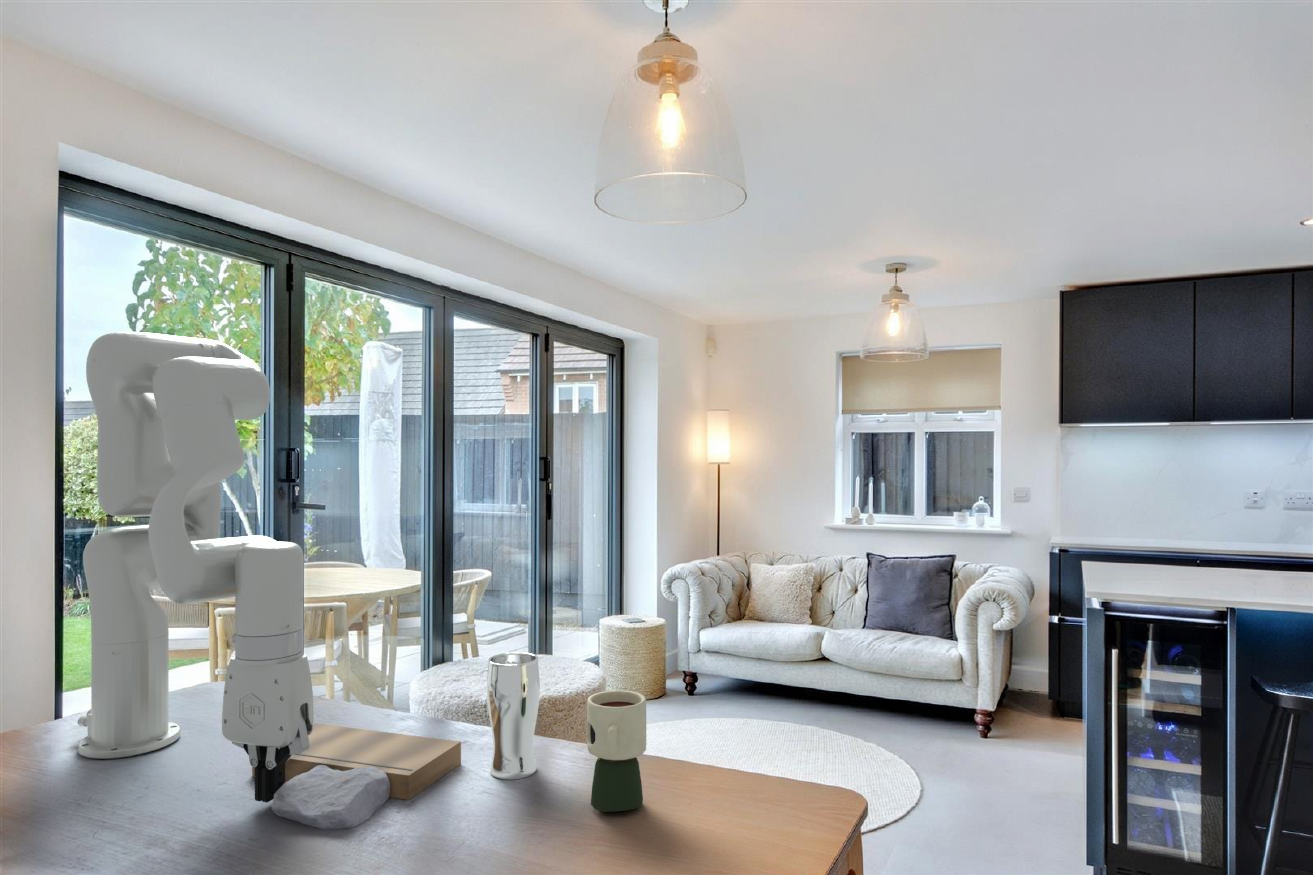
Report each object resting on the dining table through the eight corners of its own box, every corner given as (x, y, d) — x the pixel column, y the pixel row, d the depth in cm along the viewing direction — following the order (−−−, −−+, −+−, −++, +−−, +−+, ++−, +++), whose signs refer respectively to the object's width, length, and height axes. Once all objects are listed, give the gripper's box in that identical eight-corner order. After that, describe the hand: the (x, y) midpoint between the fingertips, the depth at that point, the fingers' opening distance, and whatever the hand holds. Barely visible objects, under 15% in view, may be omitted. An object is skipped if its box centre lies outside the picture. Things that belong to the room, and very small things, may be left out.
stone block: (354, 848, 93) (397, 794, 103) (347, 810, 92) (392, 759, 102) (261, 842, 96) (312, 790, 105) (254, 805, 95) (306, 755, 104)
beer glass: (548, 764, 112) (548, 653, 113) (524, 784, 106) (524, 667, 106) (503, 757, 115) (503, 649, 115) (476, 777, 108) (476, 662, 108)
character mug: (593, 787, 105) (593, 684, 105) (649, 788, 105) (649, 685, 105) (580, 827, 94) (580, 712, 94) (643, 828, 94) (642, 713, 94)
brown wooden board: (252, 775, 109) (252, 752, 109) (316, 744, 120) (316, 722, 120) (408, 799, 101) (408, 774, 101) (460, 763, 113) (460, 740, 113)
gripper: (195, 647, 99) (195, 801, 99) (298, 657, 94) (298, 819, 94) (244, 633, 106) (245, 777, 106) (342, 642, 101) (342, 792, 101)
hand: (270, 796), depth 100 cm, fingers closed
